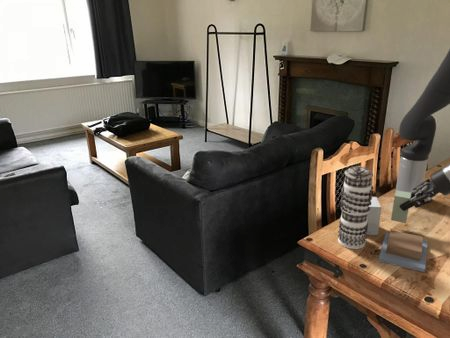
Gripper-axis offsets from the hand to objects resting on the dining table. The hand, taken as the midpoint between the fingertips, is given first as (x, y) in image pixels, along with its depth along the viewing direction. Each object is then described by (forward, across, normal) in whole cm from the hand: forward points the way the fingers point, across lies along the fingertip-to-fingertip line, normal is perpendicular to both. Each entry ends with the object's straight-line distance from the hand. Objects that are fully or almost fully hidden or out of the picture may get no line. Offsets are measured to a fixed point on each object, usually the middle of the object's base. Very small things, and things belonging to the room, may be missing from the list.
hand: (402, 205), depth 119 cm
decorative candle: (+15, +14, -2) cm, 21 cm away
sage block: (+4, 0, +3) cm, 5 cm away
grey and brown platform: (+5, +13, +8) cm, 16 cm away
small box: (+13, +4, 0) cm, 14 cm away
